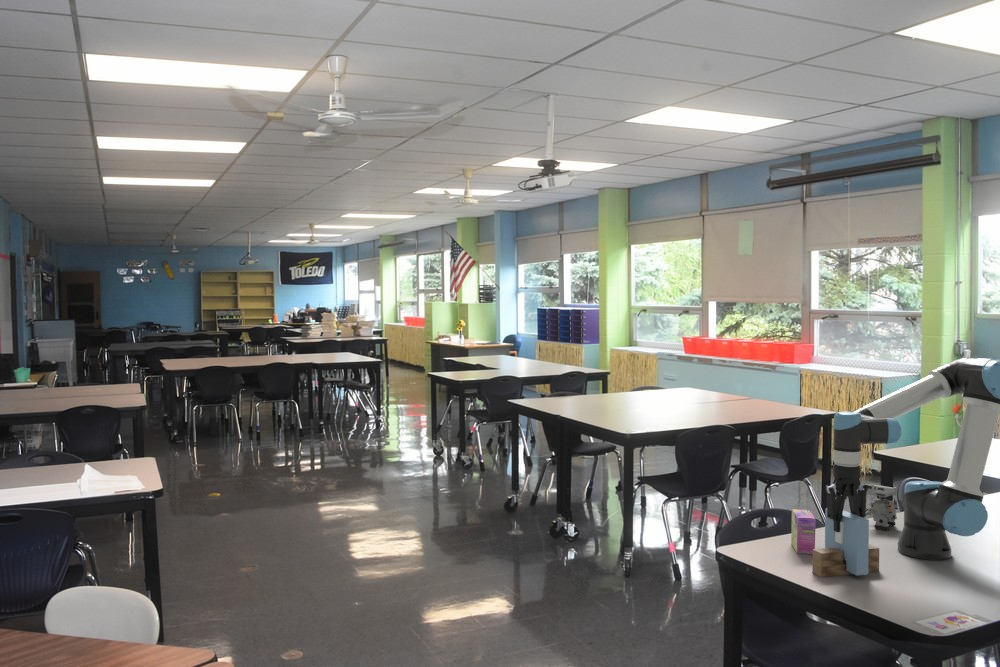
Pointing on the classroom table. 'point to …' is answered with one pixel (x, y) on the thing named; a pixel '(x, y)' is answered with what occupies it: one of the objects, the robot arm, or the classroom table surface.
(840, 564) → the rail
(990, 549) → the classroom table surface
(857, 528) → the board
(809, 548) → the box
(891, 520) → the figurine
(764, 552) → the classroom table surface
